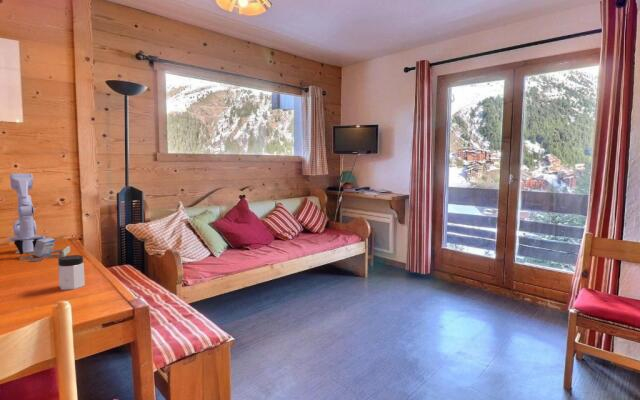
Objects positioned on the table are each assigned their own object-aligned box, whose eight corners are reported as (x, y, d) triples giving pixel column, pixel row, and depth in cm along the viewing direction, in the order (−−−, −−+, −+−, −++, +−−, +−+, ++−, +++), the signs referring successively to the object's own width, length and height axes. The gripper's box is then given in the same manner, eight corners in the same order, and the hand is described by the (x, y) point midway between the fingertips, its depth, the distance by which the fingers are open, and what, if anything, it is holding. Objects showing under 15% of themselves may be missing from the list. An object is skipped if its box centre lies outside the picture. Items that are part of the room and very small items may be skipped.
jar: (54, 290, 140) (52, 260, 139) (64, 284, 148) (62, 255, 147) (80, 289, 142) (79, 259, 141) (88, 282, 150) (87, 254, 149)
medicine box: (40, 257, 191) (44, 242, 190) (32, 254, 191) (36, 239, 190) (51, 254, 199) (55, 239, 198) (43, 251, 199) (48, 236, 198)
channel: (28, 254, 198) (28, 248, 198) (70, 251, 206) (69, 246, 206) (19, 260, 186) (19, 254, 185) (64, 256, 193) (64, 251, 193)
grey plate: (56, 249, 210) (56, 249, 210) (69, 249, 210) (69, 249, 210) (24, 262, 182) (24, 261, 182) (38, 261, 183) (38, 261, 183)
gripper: (6, 230, 185) (8, 256, 186) (41, 228, 191) (42, 254, 192) (11, 228, 191) (13, 253, 192) (45, 226, 197) (46, 251, 198)
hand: (28, 253), depth 192 cm, fingers open, 5 cm apart
